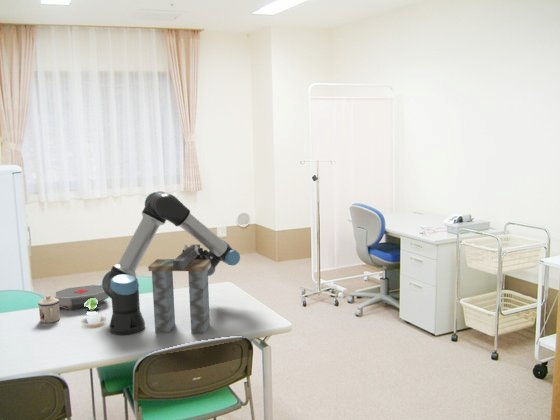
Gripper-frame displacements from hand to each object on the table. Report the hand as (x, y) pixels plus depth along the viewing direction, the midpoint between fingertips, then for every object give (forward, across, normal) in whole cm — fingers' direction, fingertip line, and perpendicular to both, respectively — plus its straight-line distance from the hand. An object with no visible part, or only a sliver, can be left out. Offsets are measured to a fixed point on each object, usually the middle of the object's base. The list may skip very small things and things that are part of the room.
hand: (190, 247), depth 241 cm
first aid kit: (-36, -63, +20) cm, 75 cm away
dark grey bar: (+2, 0, +7) cm, 7 cm away
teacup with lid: (-17, -68, +31) cm, 77 cm away
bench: (-11, -3, +34) cm, 36 cm away
